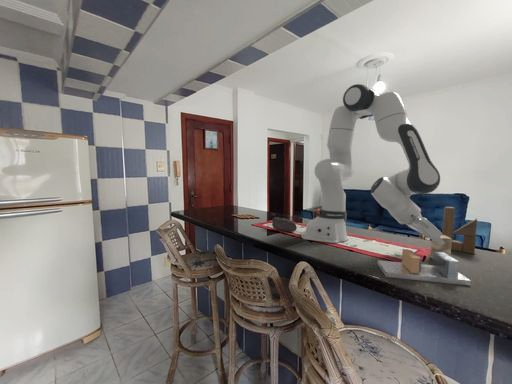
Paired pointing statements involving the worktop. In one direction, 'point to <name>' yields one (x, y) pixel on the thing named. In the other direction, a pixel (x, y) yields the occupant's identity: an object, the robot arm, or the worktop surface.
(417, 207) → the robot arm
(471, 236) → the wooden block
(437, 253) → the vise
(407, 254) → the block
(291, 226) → the perforated stone tool
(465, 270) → the worktop surface
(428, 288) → the worktop surface
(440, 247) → the beech block
